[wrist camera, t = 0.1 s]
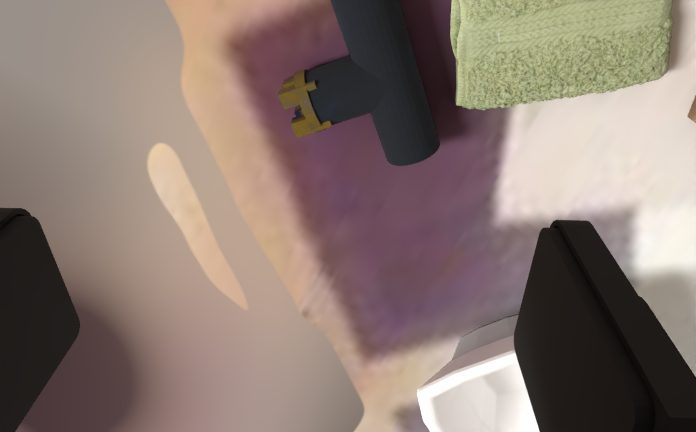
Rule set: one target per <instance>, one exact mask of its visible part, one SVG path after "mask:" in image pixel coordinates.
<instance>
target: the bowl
mask: <svg viewBox="0 0 696 432" xmlns="http://www.w3.org/2000/svg"><path fill="white" fill-rule="evenodd" d="M517 319H518V315H516V316H512V317H508V318H505V319H502V320H499V321H497V322H494V323H491V324H489V325H486V326H483V327H481V328H479V329H477V330H475V331H473V332H471V333H469V334H467V335H465V336H463V337H462V338H461V339H460V341H459V343H458V346H457V348H456V351H455V353H454V356H453V358H452V361H450V362H449V363H448V364H447V365H446V366H444V367H443V368H442V369H441V370H440V371H439V372H438V373H436V374H435V375H434V376H433V377H432V378H431V379H430V380H428V381H427V382H426V383H425V384H424V385H423V386H422V387H420V388H419V389H418V391H417V396H418V400H419V404H420V409H421V413H422V417H423V421H424V423H425V424H426V426H427V427H428V429H429V430H430V432H540V431H539V428H538V425H537V422H536V418H535V415H534V412H533V409H532V405H531V402H530V399H529V396H528V392H527V389H526V386H525V383H524V379H523V376H522V373H521V370H520V366H519V363H518V360H517V356H516V353H515V349H514V331H515V327H516V323H517Z"/></svg>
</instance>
